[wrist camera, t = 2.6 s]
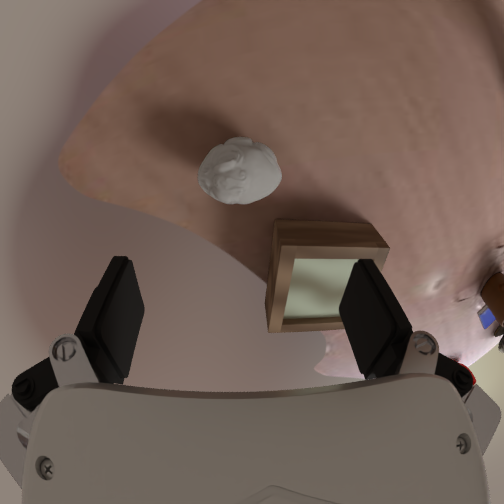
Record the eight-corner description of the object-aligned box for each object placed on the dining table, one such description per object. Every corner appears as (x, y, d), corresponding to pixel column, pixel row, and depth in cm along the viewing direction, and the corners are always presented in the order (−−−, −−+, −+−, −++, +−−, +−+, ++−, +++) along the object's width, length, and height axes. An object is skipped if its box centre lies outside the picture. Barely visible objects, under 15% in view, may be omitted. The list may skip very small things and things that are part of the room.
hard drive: (479, 316, 45) (484, 329, 50) (502, 293, 42) (504, 310, 47) (476, 311, 46) (482, 325, 51) (498, 289, 43) (502, 306, 48)
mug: (481, 271, 38) (506, 304, 30) (504, 251, 35) (531, 281, 28) (479, 303, 44) (499, 332, 36) (500, 285, 41) (521, 312, 34)
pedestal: (274, 219, 30) (281, 245, 25) (371, 223, 31) (390, 248, 26) (264, 303, 37) (268, 332, 33) (345, 301, 38) (355, 327, 34)
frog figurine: (206, 128, 24) (197, 143, 18) (280, 134, 24) (294, 151, 19) (203, 186, 27) (194, 217, 21) (271, 191, 28) (281, 223, 22)
